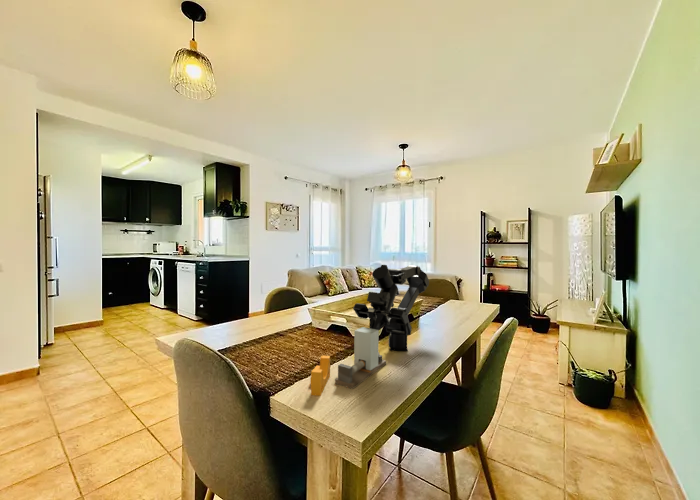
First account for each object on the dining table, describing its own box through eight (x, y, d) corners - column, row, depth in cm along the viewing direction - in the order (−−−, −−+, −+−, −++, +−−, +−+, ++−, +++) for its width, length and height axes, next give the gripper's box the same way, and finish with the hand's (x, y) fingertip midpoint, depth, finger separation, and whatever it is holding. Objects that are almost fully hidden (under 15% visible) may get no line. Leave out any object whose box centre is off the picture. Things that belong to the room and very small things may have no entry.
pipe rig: (370, 360, 105) (371, 344, 105) (386, 364, 102) (386, 348, 102) (335, 383, 88) (335, 364, 88) (352, 388, 84) (352, 369, 84)
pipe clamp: (316, 375, 93) (316, 355, 93) (330, 376, 92) (330, 356, 92) (304, 395, 81) (305, 371, 81) (320, 396, 80) (320, 372, 80)
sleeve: (362, 360, 100) (362, 327, 100) (378, 365, 97) (378, 330, 97) (354, 365, 96) (354, 330, 96) (370, 370, 93) (370, 333, 93)
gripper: (356, 280, 108) (337, 317, 99) (404, 285, 98) (389, 326, 89) (366, 299, 115) (350, 335, 106) (413, 305, 104) (399, 345, 95)
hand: (370, 335), depth 99 cm, fingers closed, pressing on sleeve
